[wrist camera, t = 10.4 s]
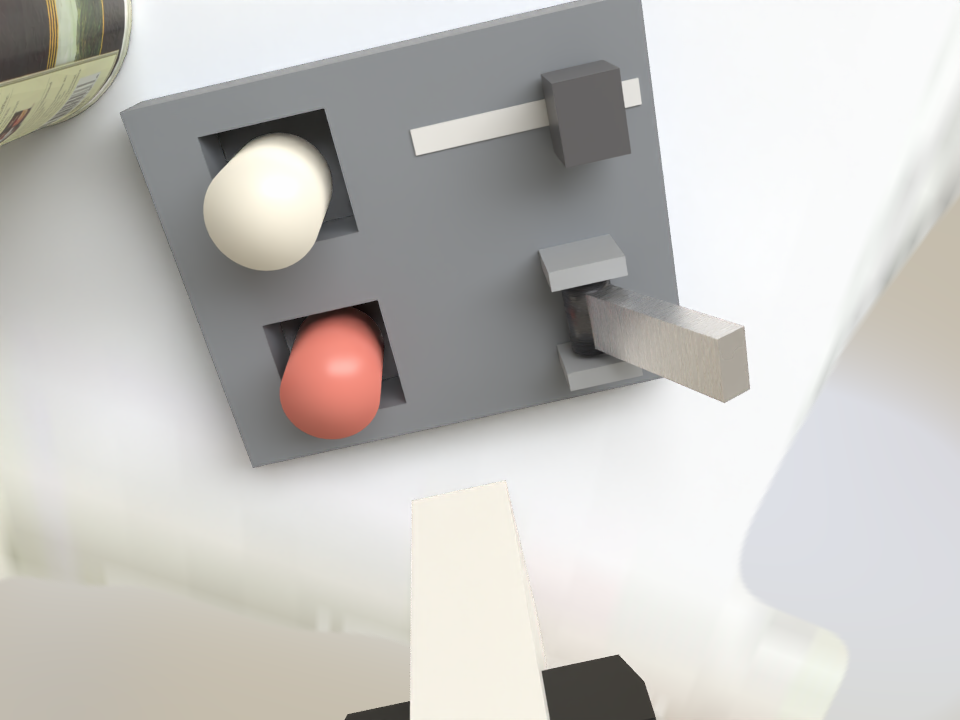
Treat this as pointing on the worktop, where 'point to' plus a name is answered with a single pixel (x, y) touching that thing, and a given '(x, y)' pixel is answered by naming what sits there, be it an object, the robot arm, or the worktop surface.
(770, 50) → the worktop surface
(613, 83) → the slider knob
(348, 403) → the button red
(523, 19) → the panel
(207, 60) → the worktop surface
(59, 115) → the coffee can
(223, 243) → the button ivory
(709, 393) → the lever
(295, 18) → the worktop surface
